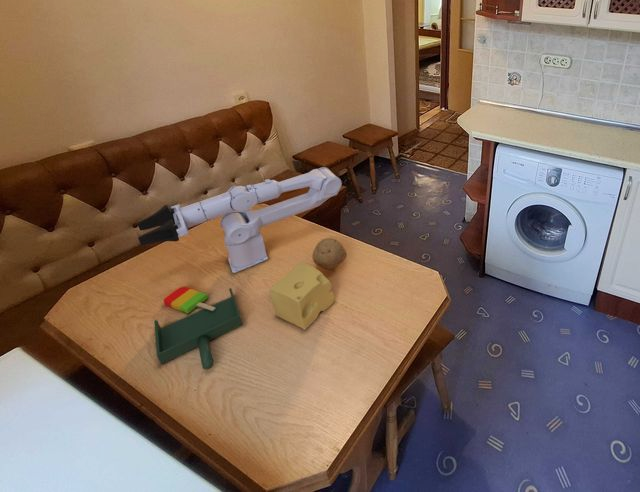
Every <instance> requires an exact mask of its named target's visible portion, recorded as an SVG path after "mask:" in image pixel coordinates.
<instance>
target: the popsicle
mask: <svg viewBox="0 0 640 492" xmlns="http://www.w3.org/2000/svg"><path fill="white" fill-rule="evenodd" d="M208 299H209V294H207V293H205V292H202V291H200V290H196V289H193V288H189V287H187V286H180V287H178V288H177V289H175V290H174V291H173V292H171V293H169V294H168V295H167V296H165V298H163V303H164V305H165V306H167V307H169V308H172V309H175V310H177V311H180V312H183V313H186V314H190V313H191V312H192V311H194V310H195V309H196V308H198V307H199V308H202V309H208V310H211V311H213V310H215V309H216V308H215V307H213V306H212V305H210V304H208V303H204V302H205V301H206V300H208Z"/></svg>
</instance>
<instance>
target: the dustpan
mask: <svg viewBox="0 0 640 492" xmlns="http://www.w3.org/2000/svg"><path fill="white" fill-rule="evenodd" d="M228 291H229V293H230V297H229V298H226V299H224V300H221V301H219V302H217V303H215V304H213V305H211V306H213V307H215V308H216V309H215V310H213V311H211V310H208V309H205V308H202V309H201V310H199V311H197V312H194V313H192V314H189V315H187V316H186V317H183V318H181V319H179V320H176V321H174V322H172V323H169V324H167V325H165V326H163V327H161V325H160V323H159V321H158V319H154V334H155V348H156V357H157V359H158V360H159V361H158V362H159V363H160V365H164V364H165V363H167V362H169V361H171V360H174V359H175V358H177V357H179V356H181V355H184V354H186V353H188V352H189V351H192V350H194V349H195V348H198V351H199V356H200V362H201V367H202V369H203V370H206V371H208V370H210V369H212V368H213V366H214V362H215V361H214V357H213V353H212V348H211V344H210V341H213V340H214V339H216V338H218V337H220V336H222V335H224V334H226V333H229V332H230V331H232V330H234V329H236V328H238V327H241V326H242V325H244V323H243V320H242V317H241V314H240V311H239V307H238V305H237V304H238V303H237V301H236V298H235V295H234V293H233V290H232V288H231V287H230V288H228Z"/></svg>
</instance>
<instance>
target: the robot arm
mask: <svg viewBox="0 0 640 492" xmlns="http://www.w3.org/2000/svg"><path fill="white" fill-rule="evenodd" d="M342 184H343V181H342V180H341V178H340V177H338V176H336V174H334V173H333V172H332V171H331V170H330V169H329V168H328V167H319V168H315V169H312V170H310V171H308V172H306V173H304V174H300V175H297V176H294V177H291V178H287V179H284V180H281V181H278V180H275V179H270V178H268V179H264V181H262V182H258V183H255V184H246V186H245V185H244V186H243V185H232V186H231V187H230V188H229V189H228V190H227V191H226V192H224V193H220V194H218V195H215V196H211V197H209V198H205V199H203V200H200V201H197V202H194V203H191V204H188V205H185V206H183V207H181V205H180V203H178V204H175V205H172V206H170V208H169V205H168V204H164V205H163V206H162V207H161V208H159V210H157V211H155V212H154V213H153V214H150V215H149V216H147V217H146V218H144V219H142V220H140V221H138V222H137V223H136V225H137V227H138V229H139V231H140V232H141V231H146V230H150V231H148V232H146V233H143V234H141V235H140V236H138V237H137V240H138V241H139V244H140V245H141V246H144V245H151V244H156V243H162V242H179V241H180V238H181V237H185V236H186V235H189V234H190V233H189V228H192V227H195V226H197V225H201V224H202V223H206V222H208V221H211V220H214V219H216V218H219V217H221V219H220V222H219V225H220V228H222V230H223V233H224V235H225V236H224V239H223V242H224V244H225V248H226V252H227V255H228V258H227V261H228V264H229V267H230V269H231V273H232V274H236V273H238V272H241V271H243V270H246V269H248V268H250V267H253V266H256V265H258V264H261V263H264V262H265V261H268V260H269V257H268V254H267V248H266V245H265V242H264V239H263V236H262V233H261V230H262V228H264V227H267V226H269V225H271V224H275V223H277V222H280V221H283V220H285V219H288V218H291V217H293V216H297V215H300V214H302V213H305V212H307V211H310V210H312V209H315V208H317V207H320V206H321V205H323V204H324V203H325V202H326V201H327V200H329V199H330V198H332V197H335V196H337V195H338V194H339V192H340V191H341V189H342ZM305 188H309V189H308V191H307V192H305V193H303V194H300V195H298V196H294V197H292V198H288V199H285V200H282V201H280V202H277V203H274V204H271V205H268V206H265V207H262V208H259V209H255V210H254V209H252V208H253V207H254V206H256V205H257V204H261V203H265V202H267V201H271V200H275V199H278V198H279V197H280V196H281V194H283V193H287V192H291V191H295V190H300V189H305ZM153 228H154V229H153ZM151 229H152V230H151Z"/></svg>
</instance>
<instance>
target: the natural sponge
mask: <svg viewBox="0 0 640 492" xmlns="http://www.w3.org/2000/svg"><path fill="white" fill-rule="evenodd" d="M346 258H347V250H346V248H344V246H343V244H342V243H341V242H340V241H339V240H338V239H336V238H333V237H326V238H323V239H321V240H320V241H319V242H317V244H316V245H315V247H314V249H313V252H312V261H313V263H314V264H315V265H316V266H318V267H320V268H321V269H323V270H326V271H332V270H334V269H336V268H337V267H338V266H339V265H340V264H342V263H343V262H344V261H345V260H346Z"/></svg>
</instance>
